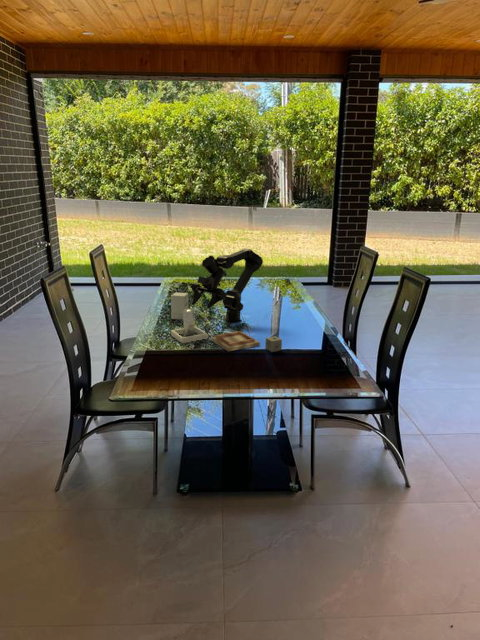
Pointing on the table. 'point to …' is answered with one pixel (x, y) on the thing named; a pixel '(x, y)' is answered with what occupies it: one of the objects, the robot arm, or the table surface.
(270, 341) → the dice cube
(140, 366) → the table surface
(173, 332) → the frame
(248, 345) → the tray
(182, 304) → the supplement box
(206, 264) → the robot arm
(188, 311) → the disc
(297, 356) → the table surface
